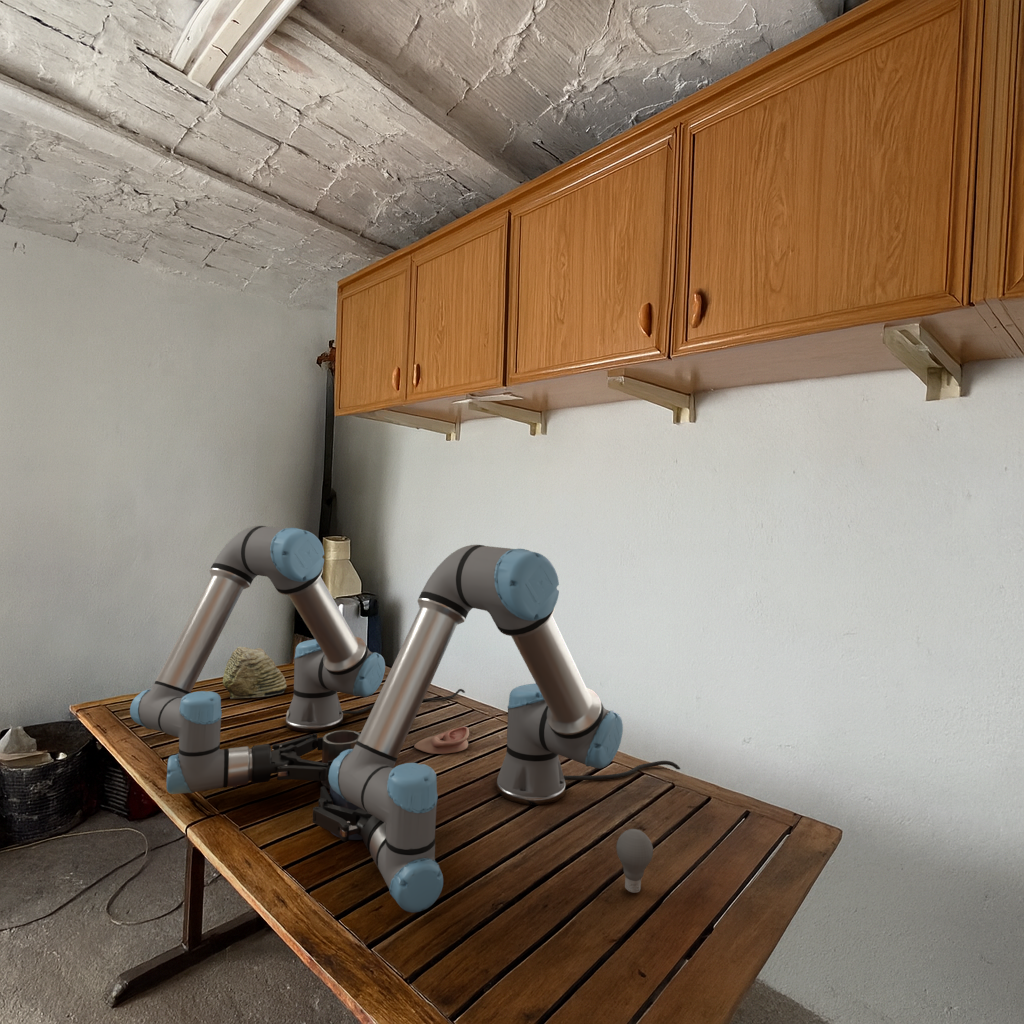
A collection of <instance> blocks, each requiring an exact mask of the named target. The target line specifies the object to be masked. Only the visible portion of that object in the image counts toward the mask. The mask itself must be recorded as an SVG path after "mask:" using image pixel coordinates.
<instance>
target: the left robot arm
mask: <svg viewBox="0 0 1024 1024" xmlns="http://www.w3.org/2000/svg"><path fill="white" fill-rule="evenodd" d="M323 556H325V551H324V546H323V544H322V542H321V540H320V539H319V538H318V536H317V535H315V534H314V533H313V532H310V531H308V530H305V529H301V528H297V527H279V526H267V525H253V526H250V527H247V528H245V529H243V530H241V531H239V532H238V533H237V534H234V536H233V537H232V538H231V539H230V540H229V541H227V543H226V544H225V545H224V547H223V548H222V549H221V550H220V552H219V553H218V554H217V556H216V558H215V559H214V561H213V563H212V565H211V567H210V568H209V574H210V578H209V580H208V582H207V583H206V585H205V588H204V589H203V591H202V593H201V595H200V596H199V599H198V601H197V602H196V604H195V606H194V608H193V610H192V611H191V614H190V616H189V617H188V619H187V621H186V623H185V624H184V627H183V629H182V631H181V632H180V634H179V636H178V638H177V639H176V642H175V644H174V646H173V647H172V649H171V651H170V653H169V654H168V657H167V659H166V660H165V663H164V664H163V666H162V668H161V670H160V671H159V673H158V675H157V677H156V678H155V681H154V683H153V685H152V686H151V688H148V689H145V690H142V691H141V692H139V693H138V694H137V695H136V696H135V697H134V698H133V699H132V702H131V703H130V707H129V715H130V718H131V719H132V721H133V722H134V723H136V724H137V725H139V726H142V727H144V728H145V729H148V730H153V731H158V732H161V733H165V734H167V735H170V736H172V737H176V738H178V753H176V754H173V755H170V756H169V757H168V759H167V765H166V791H167V793H168V794H170V795H179V794H194V793H197V792H203V791H210V790H211V791H212V790H217V789H225V788H230V787H232V788H233V789H236V788H237V787H238V786H246V785H248V784H249V782H251V783H252V784H253V785H254V784H261V783H268V782H269V781H271V778H272V774H277V777H276V779H277V781H286V780H287V781H288V780H292V781H293V780H296V781H312V782H313V781H314V782H321V781H326V780H328V775H329V770H330V766H331V764H332V762H333V761H334V760H330V761H328V763H322V761H315V760H310V759H303V758H301V757H302V756H304V755H307V754H309V753H311V752H312V751H315V750H316V749H317V751H322V746H323V737H324V736H321V737H318V734H317V733H316V732H325V731H329V730H332V729H335V728H337V727H339V726H340V725H342V723H343V722H344V715H347V714H348V715H356V714H361V713H364V712H366V711H369V710H370V709H372V708H373V706H374V704H375V703H374V704H370V705H367V707H364V708H362V709H359V710H343V709H342V706H341V702H340V699H339V695H338V692H339V693H343V694H347V695H352V696H354V697H361V698H367V697H370V696H372V695H373V694H374V693H376V691H377V690H378V689H379V688H380V686H381V685H382V682H383V680H384V676H385V671H386V662H385V659H384V657H383V656H382V655H381V654H380V653H378V652H377V651H376V652H372V651H370V650H369V647H368V645H367V643H366V642H365V641H364V640H363V639H362V638H361V637H359V636H355V634H354V632H353V631H352V629H351V627H350V626H349V624H348V623H347V620H346V619H345V617H344V615H343V613H342V611H341V610H340V608H339V607H338V605H337V603H336V601H335V599H334V598H333V595H332V594H331V591H330V590H329V589H328V587H327V585H326V583H325V582H324V580H323V578H322V574H323V573H324V572H323V571H324V565H325V564H324V563H325V558H324V557H323ZM258 576H261V577H267V578H268V579H269V580H270V582H271V584H272V585H273V586H274V588H275V590H276V591H277V592H278V593H279V594H281V595H285V596H288V598H289V599H290V601H291V602H292V604H293V606H294V607H295V609H296V610H297V612H298V614H299V615H300V617H301V618H302V620H303V622H304V624H305V625H306V627H307V628H308V630H309V631H310V633H311V635H312V636H313V639H308V640H304V641H302V642H299V643H298V644H297V645H296V647H295V652H294V653H295V654H294V657H293V659H294V660H293V662H294V663H293V665H294V666H293V695H292V696H293V697H292V699H291V702H290V704H289V708H288V709H287V711H286V714H285V726H286V728H287V729H289V730H291V731H294V732H295V731H296V732H301V733H312V734H306V735H303V736H301V737H298V738H294V739H290V740H287V741H284V742H279V743H274V744H272V745H270V744H269V743H265V744H256V745H255V744H254V745H253V746H251V748H250V747H249V746H247V745H246V746H237V747H230V748H224V749H220V747H221V729H222V728H221V725H222V716H223V715H222V714H223V712H222V698H221V695H220V694H219V693H217V692H215V691H211V690H210V691H206V690H201V691H199V690H198V691H193V688H194V687H195V685H196V683H197V681H198V679H199V677H200V675H201V673H202V672H203V670H204V668H205V665H206V664H207V662H208V659H209V658H210V655H211V653H212V651H213V649H214V647H215V646H216V644H217V641H218V640H219V638H220V636H221V634H222V632H223V630H224V628H225V626H226V625H227V622H228V620H229V618H230V617H231V614H232V612H233V610H234V608H235V607H236V605H237V603H238V600H239V599H240V596H241V594H242V592H244V591H243V590H246V589H248V588H250V586H251V585H252V583H253V581H254V579H255V578H256V577H258ZM192 691H193V692H192ZM460 692H462V694H463V693H464V694H465V693H466V691H465V690H464V689H463V688H459V689H458V690H456V691H455V693H453V694H451V695H448V696H440V697H428V698H427V697H426V698H424V699H423V702H430V701H431V702H433V701H444V700H449V699H453V698H455V697H456V696H457V695H458V694H459V693H460ZM271 747H272V748H271Z"/></svg>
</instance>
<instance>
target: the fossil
mask: <svg viewBox="0 0 1024 1024" xmlns="http://www.w3.org/2000/svg"><path fill="white" fill-rule="evenodd" d="M222 676H223V677H222V685H223V687H224V688H225V690H226V691H228V693H229V698H230V699H250V698H264V697H271V696H275V695H281V694H284V693H285V691H286V689H287V687H288V686H287V680H286V678H285V676H284V674H283V673H282V672H281V669H279V668H278V667H277V665H276V663H275V662H274V660H273V659H272V658H271V657H270V656H269V655H268V654H267V653H266V652H265V650H264V649H263V648H260V647H258V648H251V647H247V646H246V647H245V646H238V647H237V648H236V649H235V650H233V651H232V653H231V656H230V657H229V659H228V660H227V663H226V666H225V668H224V671H223V675H222Z"/></svg>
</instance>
